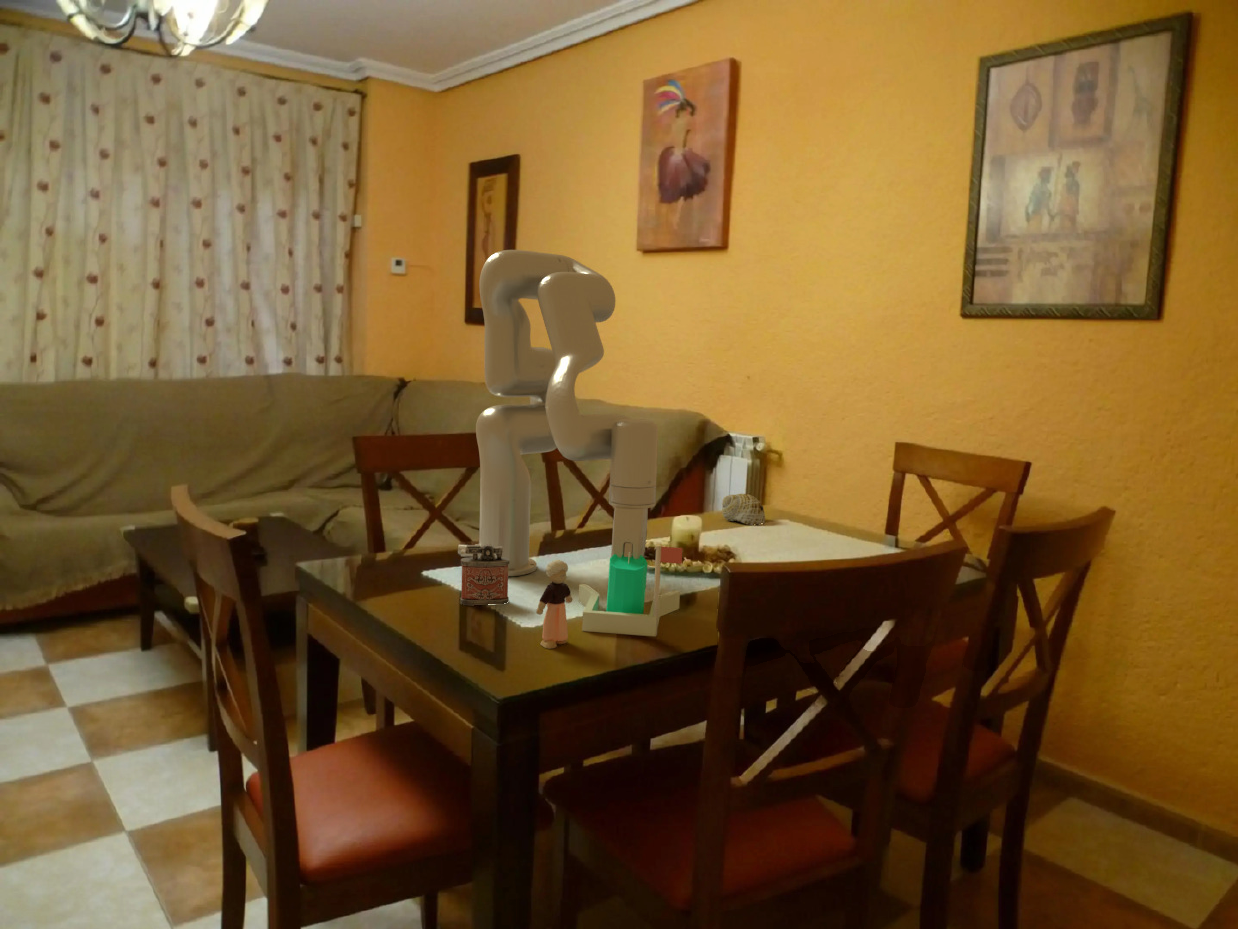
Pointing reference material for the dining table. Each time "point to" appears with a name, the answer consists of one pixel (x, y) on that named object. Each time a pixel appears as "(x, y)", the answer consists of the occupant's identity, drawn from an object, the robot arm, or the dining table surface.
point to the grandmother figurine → (555, 605)
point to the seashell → (743, 509)
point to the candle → (626, 584)
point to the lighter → (484, 576)
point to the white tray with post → (630, 621)
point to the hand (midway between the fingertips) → (628, 605)
